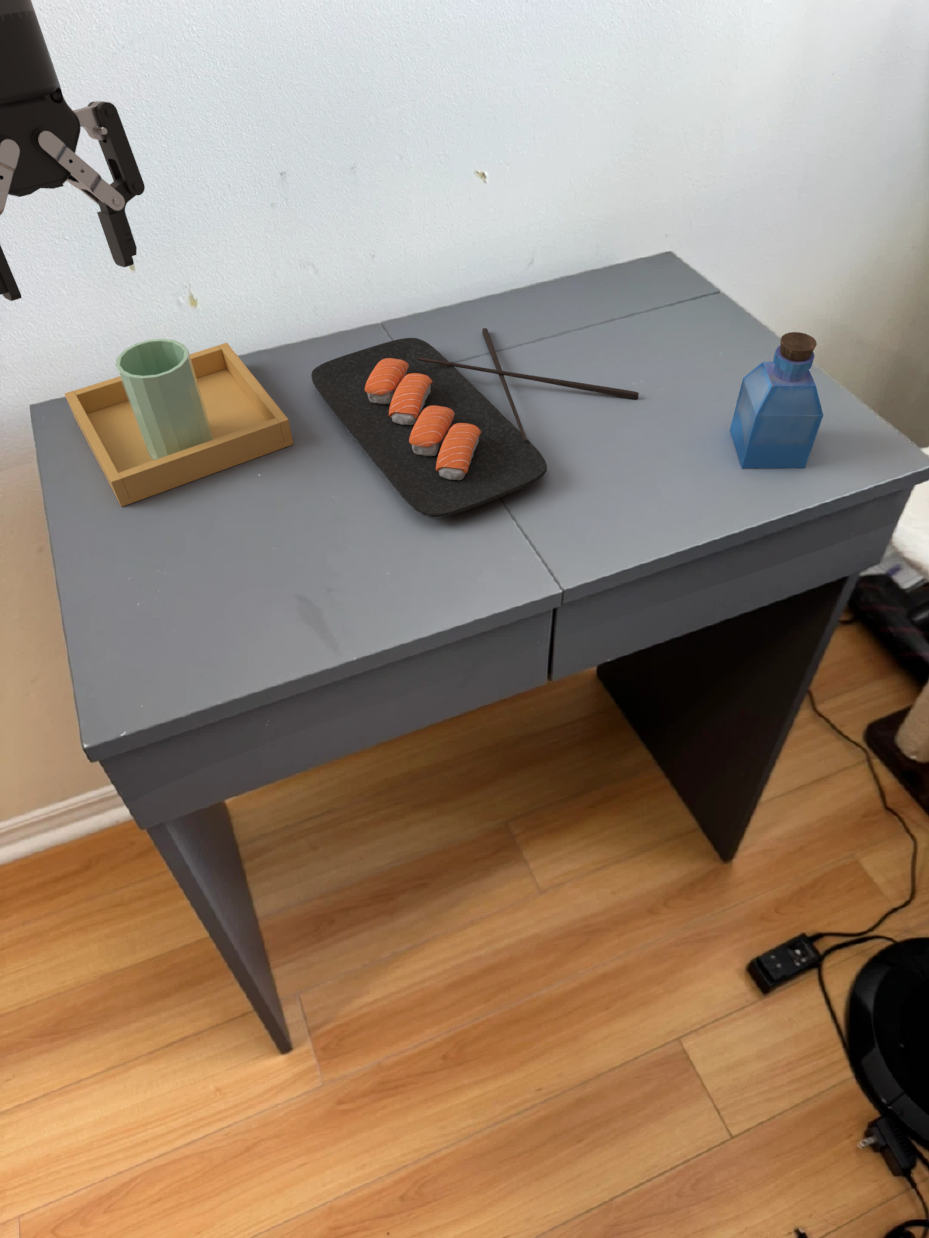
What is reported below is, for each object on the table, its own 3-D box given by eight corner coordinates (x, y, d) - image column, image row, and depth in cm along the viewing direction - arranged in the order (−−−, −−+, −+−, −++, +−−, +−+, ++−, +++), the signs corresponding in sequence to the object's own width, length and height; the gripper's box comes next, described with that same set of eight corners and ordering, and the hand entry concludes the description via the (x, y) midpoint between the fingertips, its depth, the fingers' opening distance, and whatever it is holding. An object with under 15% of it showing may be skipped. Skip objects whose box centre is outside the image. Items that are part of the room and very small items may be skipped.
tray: (121, 507, 84) (110, 482, 81) (74, 418, 93) (64, 393, 91) (293, 444, 90) (288, 419, 87) (232, 366, 99) (226, 342, 97)
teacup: (159, 473, 86) (128, 385, 79) (139, 438, 90) (107, 352, 82) (222, 450, 88) (198, 363, 81) (200, 417, 92) (174, 331, 84)
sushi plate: (303, 383, 97) (298, 353, 94) (532, 310, 106) (533, 280, 103) (426, 539, 80) (424, 507, 77) (684, 435, 89) (691, 403, 86)
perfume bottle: (805, 468, 86) (842, 360, 77) (741, 468, 86) (771, 360, 77) (790, 429, 90) (824, 323, 81) (729, 430, 90) (757, 323, 81)
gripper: (-141, 28, 48) (-11, 320, 58) (101, -6, 55) (181, 261, 65) (-168, 33, 53) (-43, 302, 63) (58, 1, 60) (139, 248, 70)
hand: (71, 281), depth 64 cm, fingers open, 8 cm apart
